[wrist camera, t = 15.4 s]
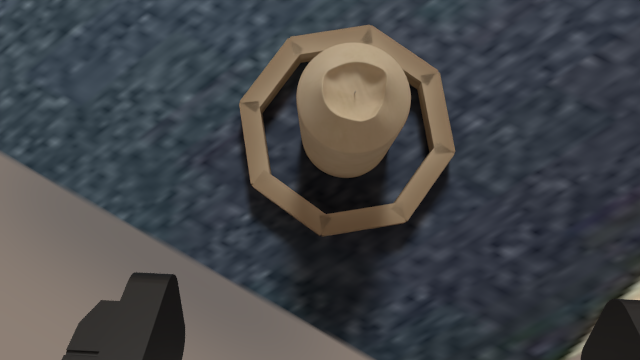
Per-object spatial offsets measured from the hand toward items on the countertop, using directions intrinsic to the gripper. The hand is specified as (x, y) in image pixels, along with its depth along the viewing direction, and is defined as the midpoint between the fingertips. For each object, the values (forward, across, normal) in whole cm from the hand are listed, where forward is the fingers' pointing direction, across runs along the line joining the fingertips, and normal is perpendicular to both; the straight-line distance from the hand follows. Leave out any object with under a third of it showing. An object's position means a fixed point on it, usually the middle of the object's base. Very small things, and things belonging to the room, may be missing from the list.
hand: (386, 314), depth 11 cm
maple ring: (+23, 0, +10) cm, 25 cm away
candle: (+23, 0, +11) cm, 25 cm away
